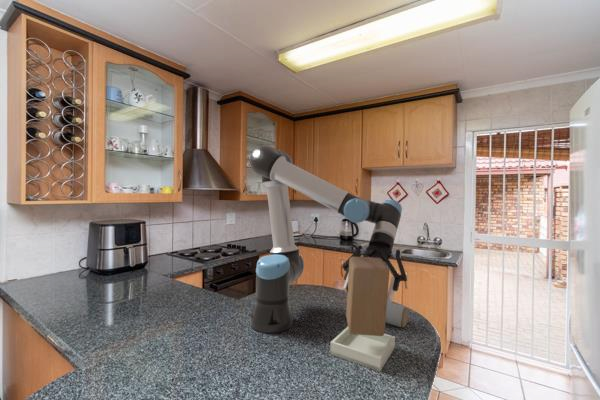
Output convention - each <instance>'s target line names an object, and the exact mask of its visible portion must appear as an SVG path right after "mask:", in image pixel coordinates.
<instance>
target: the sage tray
mask: <svg viewBox="0 0 600 400" xmlns="http://www.w3.org/2000/svg"><path fill="white" fill-rule="evenodd" d="M395 342H396V336H393V335H389V334H387V333H384V335H383V336H372V335H357V334H351V333H350V332H349V328H348V326H346V328H344V329H343V330H342V331H341V332H340V333H339V334H338V335H337V336H335V338H333V339H332V340H331V341H330V343H329V344H330V346H329V348H330V349H329V351H330V352H329V354H330V355H332V356H335V357H337V358H340V359H343V360H346V361H349V362H351V363H354V364H357V365H358V366H362V367H365V368H368V369H371V370H374V371H376V372H381V371H382V369H383V368H384V366H385V364H386V363H387V361H388V359H389V358H390V356H391V354H393V351H394V350H395V347H396V343H395Z"/></svg>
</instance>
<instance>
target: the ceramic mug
mask: <svg viewBox="0 0 600 400" xmlns="http://www.w3.org/2000/svg"><path fill="white" fill-rule="evenodd" d="M408 320H409V309H408V308H407V307H406V306H404V305H401V304H398V303H396V302H389V301H388V300H387V309H386V321H385V324H387V325H391V326H395V327H398V328H405V327H406V326H407V323H408Z"/></svg>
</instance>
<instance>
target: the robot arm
mask: <svg viewBox="0 0 600 400" xmlns="http://www.w3.org/2000/svg"><path fill="white" fill-rule="evenodd" d="M249 164H250V168H251V169H252V171H253V172H254V173H255V174H257V175H258V176H261V182H262V183H261V184H262V185H263V186H264V187H265V188H266V192H267V193H266V194H267V202H268V212H269V220H270V228H271V230H270V231H271V238H272V248H271V250H270V251H269V255H264V256H262V257H260V258H258V260H257V262H256V268H255V273H256V274H255V276H256V278H255V302H254V305H253V309H252V311H251V314H250V317H249V325H250V327H251V329H253V330H254V331H257V332H260V333H268V334H274V333H280V332H281V333H282V332H284V331H287V330H289V329H290V328H291V327H292V326H293V322H294V318H293V317H294V315H293V314H292V310H291V306H290V302H289V293H290V286H291V284H292V283H294V282H296V281H297V280H298V279H299V278H300V277H301V275H302V274H303V272H304V269H305V263H304V260H303V257H302V255H301V254H300V251H299V250H300V248H299V247H298V246H297V245H296V244H295V239H294V238H295V237H294V229H293V228H294V227H293V219H292V211H291V204H290V203H291V202H290V194H289V188H290V189H293V190H294V191H296V192H298V193H300V194H302V195H303V196H306V197H308V198H310V199H312V200H313V201H315V202H318V203H319V204H322V205H323V206H324V207H327V208H329V209H331V210H332V211H333V212H336V213H338V214H339V215H341V216H343V217H345V218H346V220H348V221H350V222H352V223H353V224H354V223H355V224H359V223H362V222H364V221H365V222H369V223H371V224H374V227H373V231H372V233H371V236H370V239H369V243H368V246H366V247H363V246H362V245H361V244H360V245H358V247H357V248H356V250H355V251H354V252H353V253H352V254H351V255H350V257H372V258H381V259H382V260H383V261H384V263H385V264H386V266H387V267H388V269H389V273H391V274H392V277H391V279H390V282H389V286H388V296H387V301H389V302H392V301H393V297H394V293H395V292H398V290H399V286H400V282H407V281H408V277H407V274H406V271H405V268H404V265H403V262H402V254H401V250H400V249H397V250H395V251H393V248H394V247H393V246H394V244H395V239H396V237H397V233H398V228H399V224H400V221H401V217H402V210H403V208H402V205H401V203H399V202H398V201H397V200H395V199H384V200H383V201H382V203H380V202H375V201H372V200H368V199H365V198H361V197H359V196H356V195H355V194H352V193H349V192H348V191H346V190H344V189H342V188H340V187H338V186H336V185H334V184H332V183H330V182H329V181H326V180H324V179H322V178H321V177H318V176H316V175H315V174H312V173H311V172H310V171H306V170H305V169H303V168H301V167H300V166H297V165H295V164H294V163H293V160H292V159H291V157H290V155H288V154H287V153H286V152H285V151H284V150H281V149H279V148H278V149H277V148H275V147H273V146H271V145H267V144H266V145H261V146H258V147H256V148H255V149H254V150H253V151H252V152H251V154H250V157H249ZM362 255H363V256H362ZM350 257H348V258H347V259H346V260H345V262H344V263H342V265H341V268H342V269H343V271H344V272H345V273H344V276H343V280H344V283H343V287H342V289H343V291H344V292H345V294H346V293H347V291H348V274H349V259H350ZM391 257H393V259H395V260H396V263H397V265H398V269H399V272H400V274H399V273H398V271H397V270H396V269H395V267H394V265H393V264H392V263H391V260H390V258H391ZM392 303H393V302H392Z"/></svg>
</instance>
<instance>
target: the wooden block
mask: <svg viewBox="0 0 600 400" xmlns="http://www.w3.org/2000/svg"><path fill="white" fill-rule="evenodd" d="M349 258H350V259H349ZM349 258H348V259H349V274H348V291H347V294H346V308H345V310H346V311H345V317H346V323H347V327H348V328H349V332H350V333H351V334H357V335H372V336H383V335H384V334H386V333H385V331H386V323H385V321H386V309H387V301H388V299H387V296H388V291H389V284H390V281H389V280H390V270H389V269H388V267H387V266H386V264H385V263H384V261H383V260H382V259H381V258H372V257H363V256H361V257H351V256H349Z"/></svg>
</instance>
